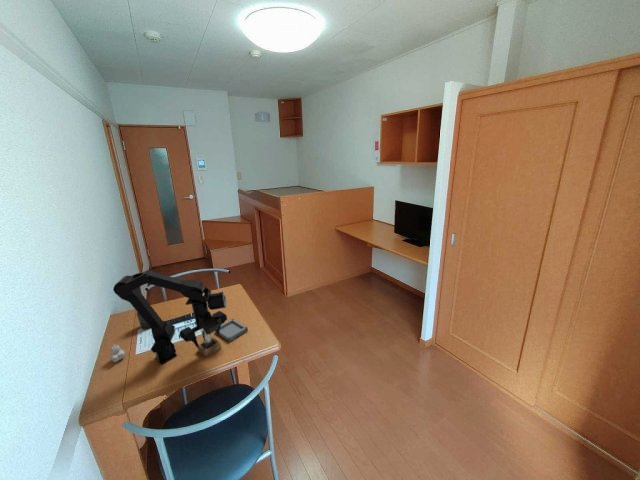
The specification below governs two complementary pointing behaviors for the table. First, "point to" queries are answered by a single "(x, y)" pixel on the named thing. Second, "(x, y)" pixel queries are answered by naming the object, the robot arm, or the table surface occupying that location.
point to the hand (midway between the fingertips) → (207, 341)
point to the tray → (232, 330)
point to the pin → (207, 339)
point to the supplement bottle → (142, 322)
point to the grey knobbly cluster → (116, 353)
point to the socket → (211, 349)
